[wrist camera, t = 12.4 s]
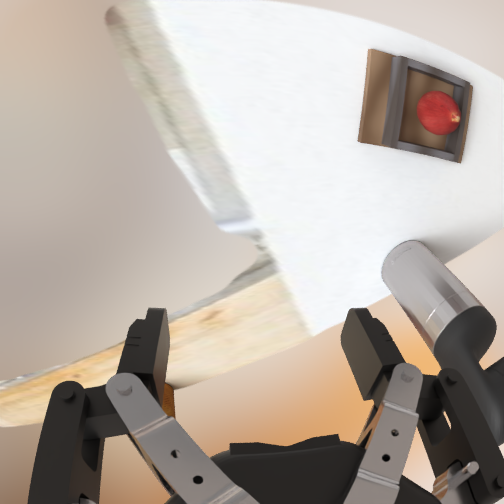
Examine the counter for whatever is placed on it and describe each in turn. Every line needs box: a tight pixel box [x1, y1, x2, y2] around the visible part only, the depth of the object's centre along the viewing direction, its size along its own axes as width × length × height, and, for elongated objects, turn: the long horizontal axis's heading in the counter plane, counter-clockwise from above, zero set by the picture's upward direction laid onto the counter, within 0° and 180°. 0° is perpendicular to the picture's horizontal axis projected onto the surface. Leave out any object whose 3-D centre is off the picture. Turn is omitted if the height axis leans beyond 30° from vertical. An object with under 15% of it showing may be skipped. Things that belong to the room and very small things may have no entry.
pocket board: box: [358, 49, 473, 163], centre depth 34 cm, size 18×13×4 cm
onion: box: [417, 91, 461, 135], centre depth 31 cm, size 6×6×8 cm
